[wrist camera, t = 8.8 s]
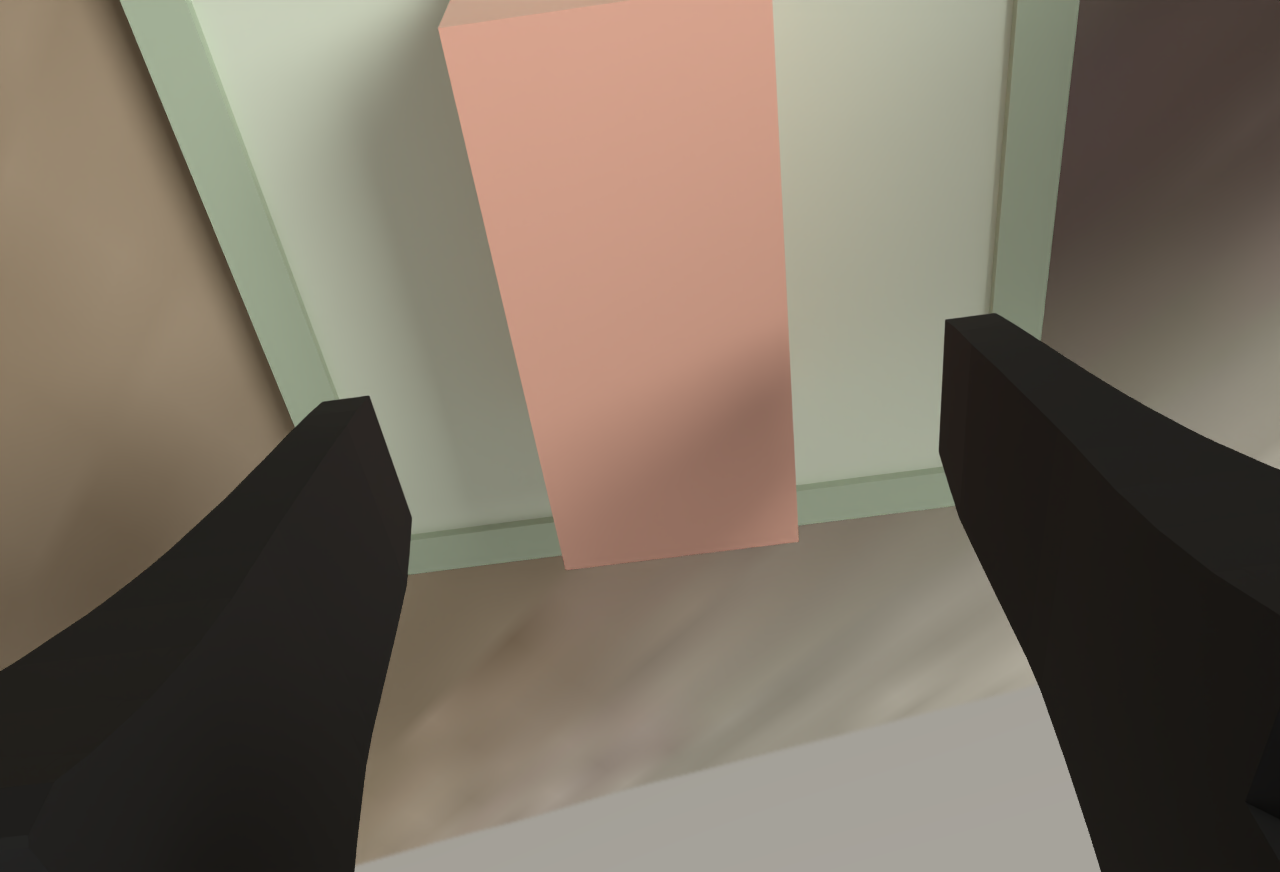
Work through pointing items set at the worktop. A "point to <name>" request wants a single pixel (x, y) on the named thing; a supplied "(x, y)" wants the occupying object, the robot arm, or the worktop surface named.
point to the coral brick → (638, 261)
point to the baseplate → (464, 271)
